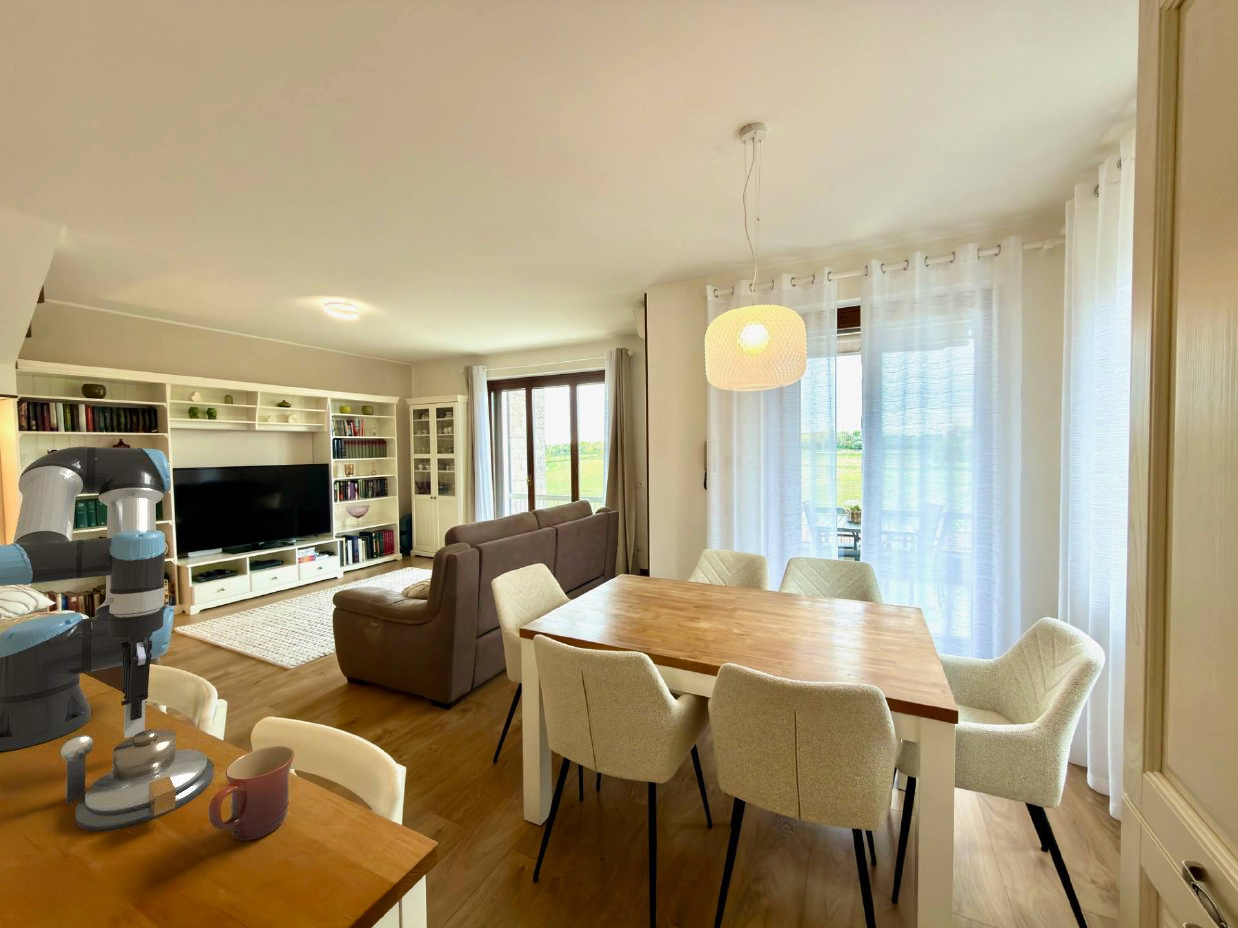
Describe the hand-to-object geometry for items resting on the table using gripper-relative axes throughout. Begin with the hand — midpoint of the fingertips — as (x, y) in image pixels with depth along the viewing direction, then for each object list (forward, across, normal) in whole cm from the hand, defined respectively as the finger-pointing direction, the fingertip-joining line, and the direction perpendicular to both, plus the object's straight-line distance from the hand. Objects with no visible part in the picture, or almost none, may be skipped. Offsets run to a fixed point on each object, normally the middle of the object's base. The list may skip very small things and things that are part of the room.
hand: (134, 733), depth 93 cm
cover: (+2, +11, 0) cm, 11 cm away
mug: (+5, +40, +8) cm, 41 cm away
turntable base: (+5, +16, 0) cm, 17 cm away
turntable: (+3, +18, 0) cm, 19 cm away
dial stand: (+5, +8, -8) cm, 12 cm away
